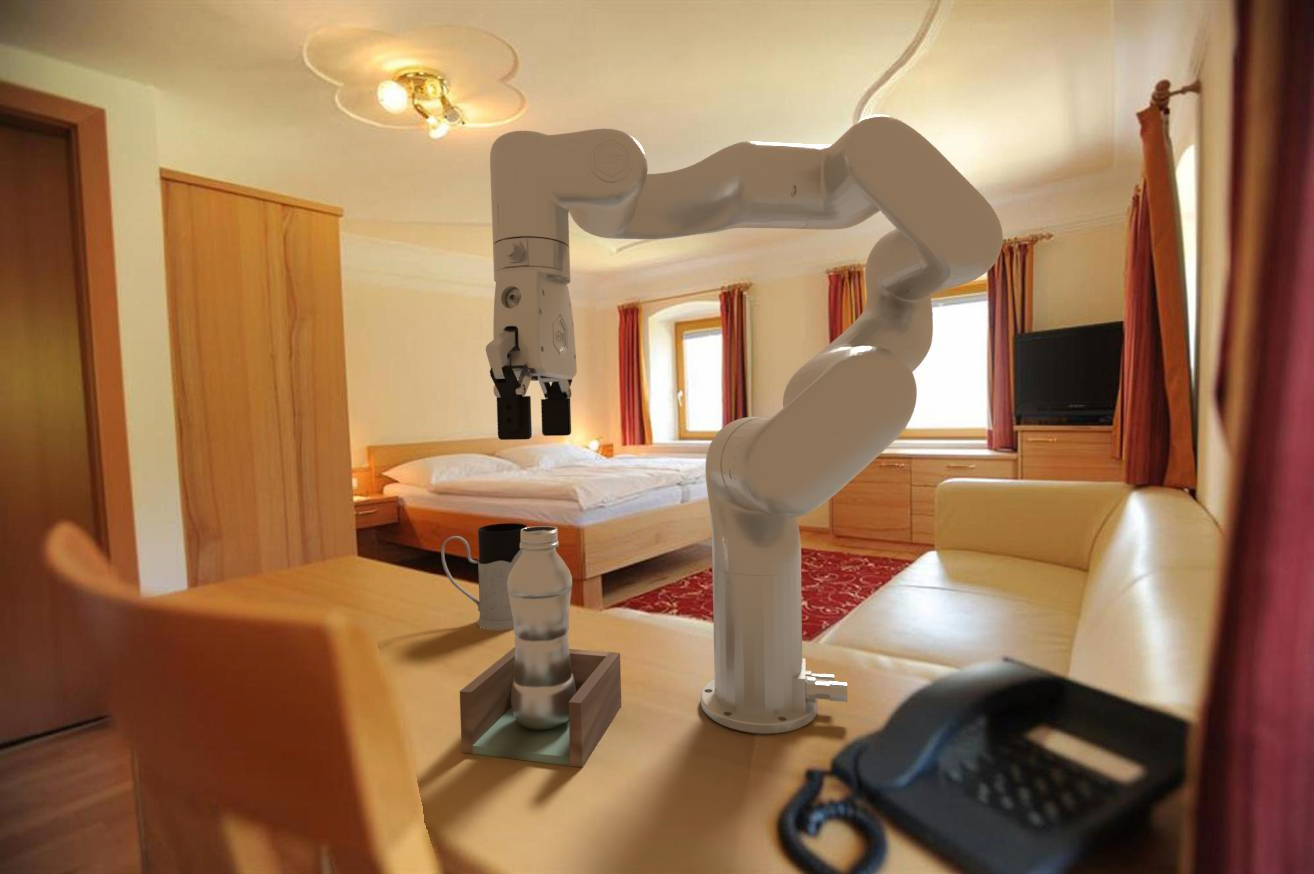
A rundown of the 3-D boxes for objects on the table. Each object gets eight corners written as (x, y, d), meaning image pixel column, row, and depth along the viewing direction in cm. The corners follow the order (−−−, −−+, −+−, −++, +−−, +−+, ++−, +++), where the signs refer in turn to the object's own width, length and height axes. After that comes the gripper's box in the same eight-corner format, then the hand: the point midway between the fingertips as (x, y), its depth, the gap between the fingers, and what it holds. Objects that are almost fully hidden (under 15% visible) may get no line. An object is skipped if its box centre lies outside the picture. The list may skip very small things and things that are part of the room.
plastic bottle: (564, 741, 59) (559, 536, 58) (499, 735, 60) (494, 534, 59) (585, 709, 65) (581, 523, 64) (526, 704, 66) (521, 522, 66)
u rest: (621, 706, 67) (620, 652, 67) (582, 767, 56) (580, 703, 56) (518, 696, 70) (517, 644, 70) (461, 752, 59) (459, 691, 59)
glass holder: (527, 630, 92) (524, 532, 92) (433, 632, 92) (430, 534, 92) (538, 611, 101) (536, 521, 101) (453, 613, 101) (450, 523, 101)
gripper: (528, 239, 52) (534, 440, 52) (596, 281, 68) (600, 433, 69) (449, 247, 53) (456, 441, 54) (535, 286, 70) (539, 434, 71)
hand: (537, 437), depth 62 cm, fingers open, 9 cm apart
